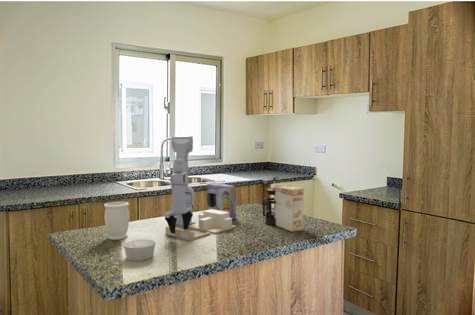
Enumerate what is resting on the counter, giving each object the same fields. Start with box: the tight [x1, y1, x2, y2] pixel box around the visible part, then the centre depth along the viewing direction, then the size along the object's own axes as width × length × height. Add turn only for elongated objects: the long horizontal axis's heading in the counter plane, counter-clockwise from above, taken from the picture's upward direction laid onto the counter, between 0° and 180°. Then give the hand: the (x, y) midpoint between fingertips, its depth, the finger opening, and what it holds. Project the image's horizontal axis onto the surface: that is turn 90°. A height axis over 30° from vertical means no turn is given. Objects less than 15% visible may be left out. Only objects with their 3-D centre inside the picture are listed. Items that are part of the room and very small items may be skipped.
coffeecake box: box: [273, 184, 304, 232], centre depth 185 cm, size 15×7×20 cm, turn 27°
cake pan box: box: [206, 182, 237, 220], centre depth 208 cm, size 19×5×18 cm, turn 42°
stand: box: [188, 209, 237, 235], centre depth 186 cm, size 15×18×7 cm
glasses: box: [165, 225, 211, 242], centre depth 174 cm, size 12×16×4 cm
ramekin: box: [123, 238, 156, 262], centre depth 144 cm, size 11×11×5 cm
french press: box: [262, 176, 279, 226], centre depth 193 cm, size 12×9×23 cm
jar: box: [103, 201, 130, 241], centre depth 170 cm, size 11×10×15 cm
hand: (179, 231), depth 170 cm, fingers open, 7 cm apart
